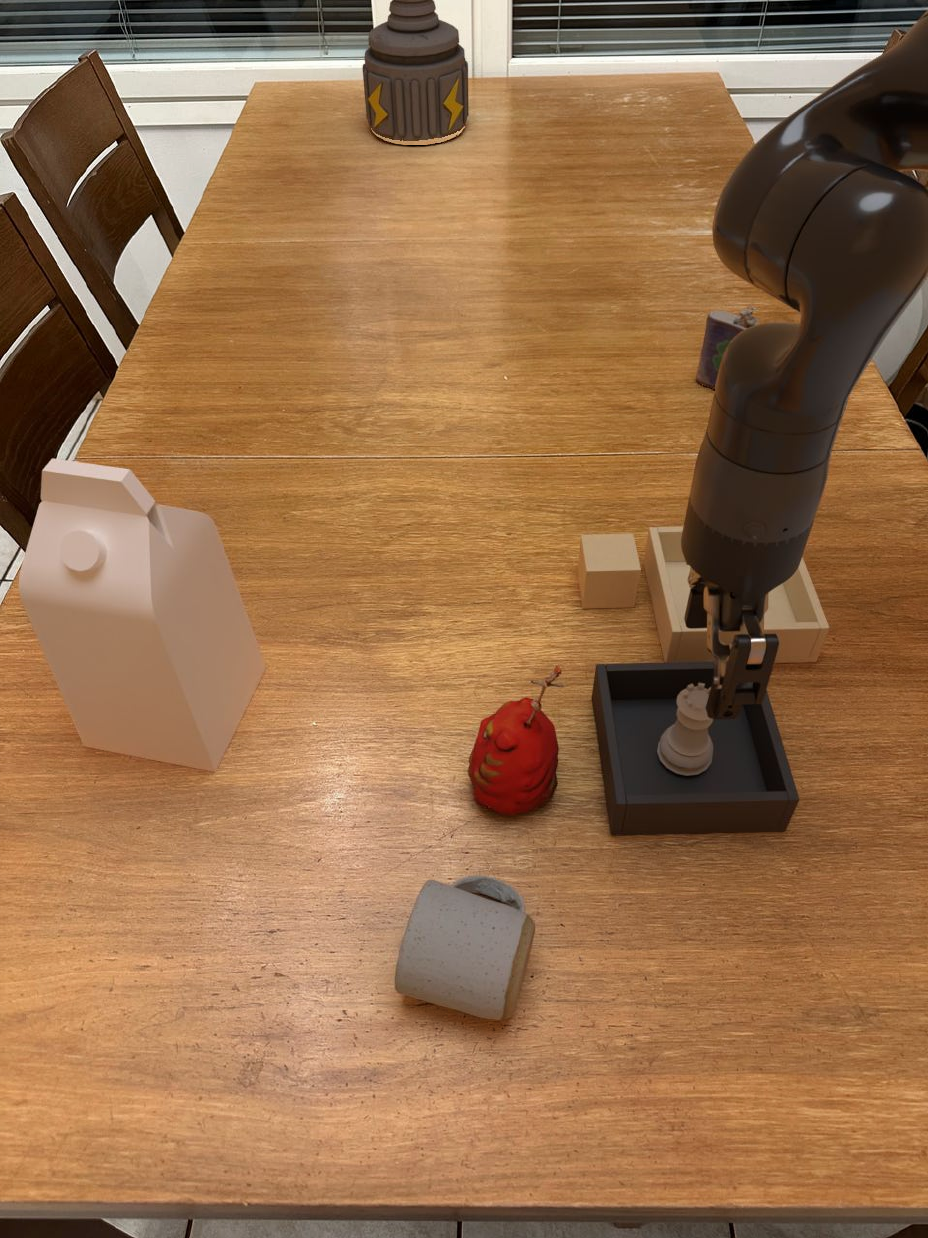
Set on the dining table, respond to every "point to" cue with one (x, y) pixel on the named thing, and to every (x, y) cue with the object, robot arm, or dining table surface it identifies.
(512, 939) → the ceramic mug
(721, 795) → the charcoal bin
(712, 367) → the flask
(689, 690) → the rook chess piece
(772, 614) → the ivory bin
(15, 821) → the dining table surface
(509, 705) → the red clay folk toy
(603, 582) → the cream block
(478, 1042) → the dining table surface
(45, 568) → the milk
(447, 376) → the dining table surface
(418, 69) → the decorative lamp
